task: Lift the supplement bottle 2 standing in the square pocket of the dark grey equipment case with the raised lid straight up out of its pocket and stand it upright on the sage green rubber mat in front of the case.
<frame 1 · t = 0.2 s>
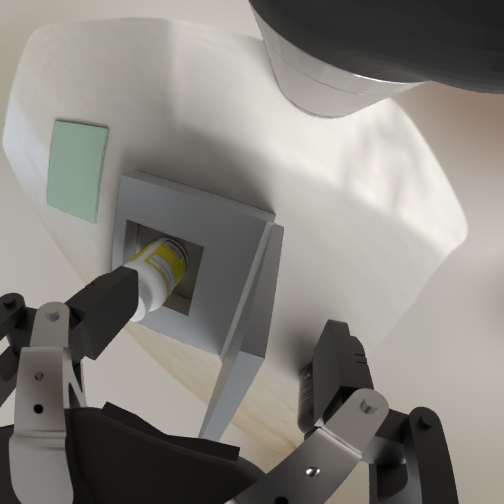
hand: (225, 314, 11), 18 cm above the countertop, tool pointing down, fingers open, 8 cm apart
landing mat: (73, 169, 28), on the countertop
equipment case: (183, 264, 31), on the countertop
supplement bottle: (323, 373, 35), on the countertop
supplement bottle 2: (169, 257, 31), resting in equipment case
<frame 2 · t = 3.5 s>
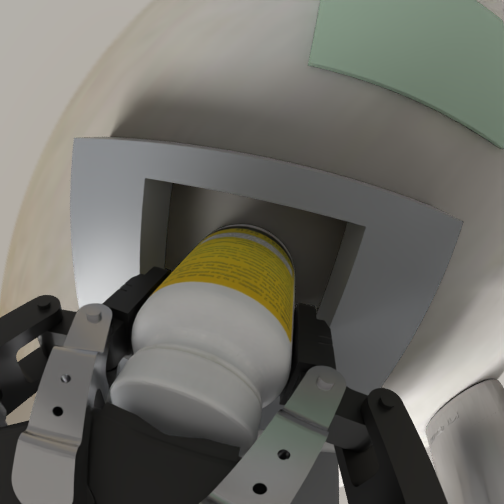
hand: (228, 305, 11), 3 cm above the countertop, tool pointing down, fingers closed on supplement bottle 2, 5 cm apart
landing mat: (428, 29, 8), on the countertop
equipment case: (237, 302, 15), on the countertop
supplement bottle 2: (244, 269, 15), resting in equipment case, touching gripper
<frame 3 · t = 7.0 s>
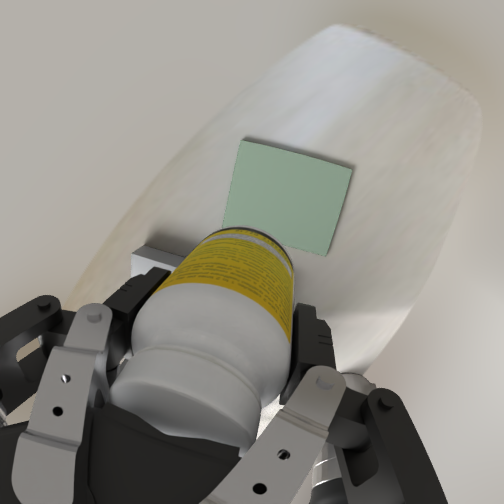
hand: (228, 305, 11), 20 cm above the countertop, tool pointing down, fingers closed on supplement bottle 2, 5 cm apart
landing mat: (285, 198, 29), on the countertop
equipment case: (199, 316, 36), on the countertop
supplement bottle 2: (243, 270, 15), point 16 cm above the countertop, touching gripper
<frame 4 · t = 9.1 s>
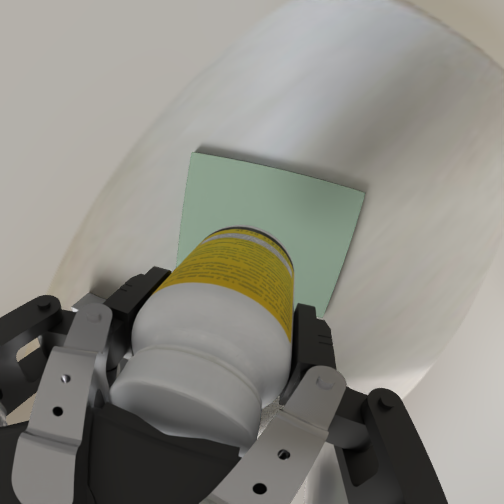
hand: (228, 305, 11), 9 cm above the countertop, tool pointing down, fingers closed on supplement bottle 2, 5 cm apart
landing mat: (262, 237, 20), on the countertop
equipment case: (163, 376, 27), on the countertop
supplement bottle 2: (243, 270, 15), point 5 cm above the countertop, touching gripper
when the fingers open (5 cm above the countertop, at t = 10.8 s): supplement bottle 2 drops 1 cm, resting on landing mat.
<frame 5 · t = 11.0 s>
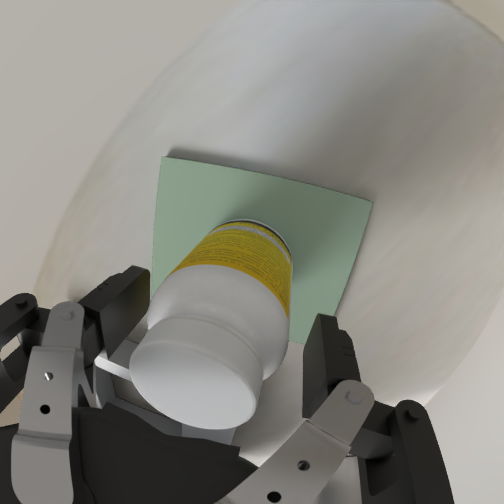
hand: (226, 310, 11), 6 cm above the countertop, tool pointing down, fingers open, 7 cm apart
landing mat: (248, 257, 16), on the countertop
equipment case: (149, 399, 24), on the countertop
supplement bottle 2: (246, 261, 16), resting on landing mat
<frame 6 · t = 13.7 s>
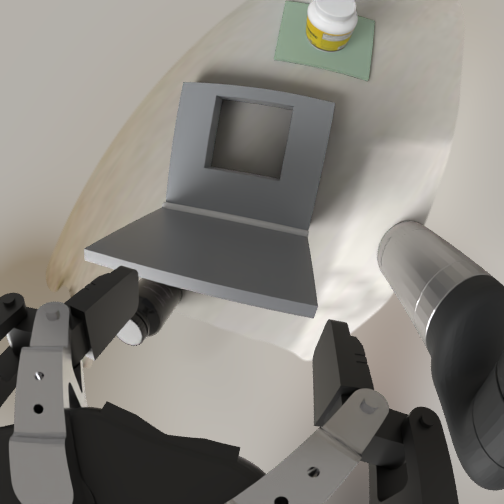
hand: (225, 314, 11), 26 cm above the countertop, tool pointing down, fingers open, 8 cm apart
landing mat: (326, 37, 26), on the countertop
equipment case: (248, 153, 33), on the countertop
supplement bottle: (163, 287, 42), on the countertop
supplement bottle 2: (326, 37, 25), resting on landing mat
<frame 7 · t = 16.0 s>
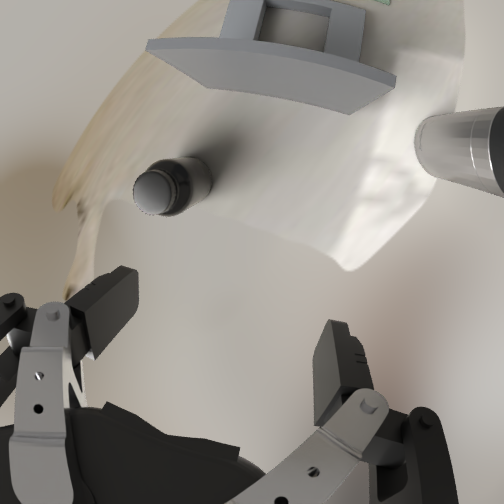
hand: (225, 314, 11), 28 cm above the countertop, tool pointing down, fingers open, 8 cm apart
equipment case: (290, 45, 29), on the countertop
supplement bottle: (191, 180, 38), on the countertop
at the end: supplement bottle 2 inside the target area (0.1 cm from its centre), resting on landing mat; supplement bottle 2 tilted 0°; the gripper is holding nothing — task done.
